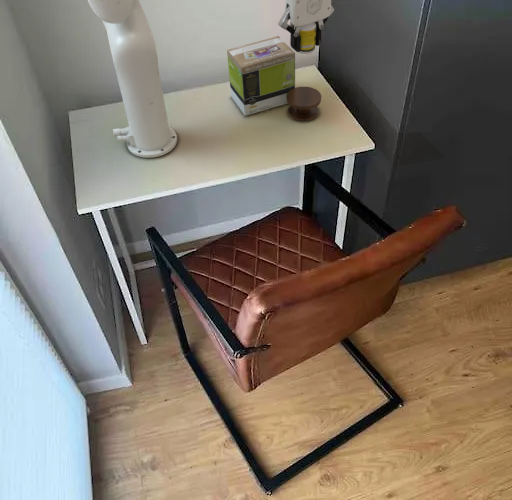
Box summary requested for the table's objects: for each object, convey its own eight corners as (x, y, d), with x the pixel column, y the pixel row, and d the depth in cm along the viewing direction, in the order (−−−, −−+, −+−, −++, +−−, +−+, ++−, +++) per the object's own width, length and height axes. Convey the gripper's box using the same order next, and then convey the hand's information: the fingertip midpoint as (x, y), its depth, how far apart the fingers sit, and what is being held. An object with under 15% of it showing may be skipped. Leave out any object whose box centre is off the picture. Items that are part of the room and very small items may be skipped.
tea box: (279, 83, 162) (279, 34, 150) (295, 102, 155) (297, 52, 144) (229, 97, 158) (226, 47, 147) (244, 117, 152) (241, 67, 141)
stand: (288, 124, 149) (288, 107, 146) (284, 103, 155) (284, 87, 152) (322, 121, 150) (324, 105, 146) (317, 101, 156) (318, 85, 152)
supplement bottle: (317, 52, 137) (319, 19, 131) (298, 55, 137) (299, 22, 130) (311, 42, 141) (313, 9, 134) (293, 45, 140) (293, 12, 134)
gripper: (283, -16, 120) (282, 63, 133) (351, -35, 125) (343, 43, 139) (265, -29, 124) (266, 49, 138) (331, -47, 129) (326, 30, 143)
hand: (305, 45), depth 138 cm, fingers closed on supplement bottle, 4 cm apart
